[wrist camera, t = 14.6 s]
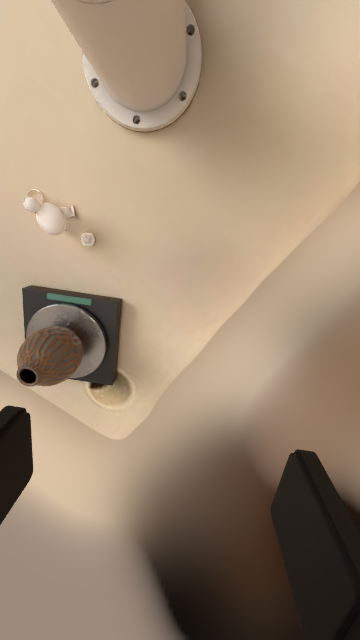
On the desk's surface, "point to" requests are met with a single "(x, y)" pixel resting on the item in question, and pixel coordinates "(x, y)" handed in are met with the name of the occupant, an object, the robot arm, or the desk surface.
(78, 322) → the scale pan
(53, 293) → the scale
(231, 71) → the desk surface
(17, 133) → the desk surface
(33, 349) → the vase
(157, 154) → the desk surface
